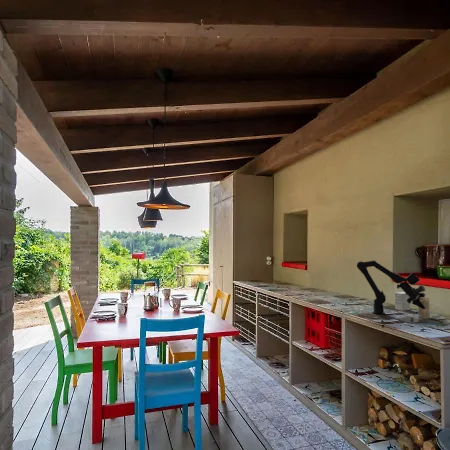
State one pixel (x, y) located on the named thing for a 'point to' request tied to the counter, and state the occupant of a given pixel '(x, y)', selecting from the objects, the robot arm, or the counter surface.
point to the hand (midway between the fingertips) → (426, 308)
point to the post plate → (416, 320)
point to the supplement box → (401, 301)
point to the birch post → (424, 312)
